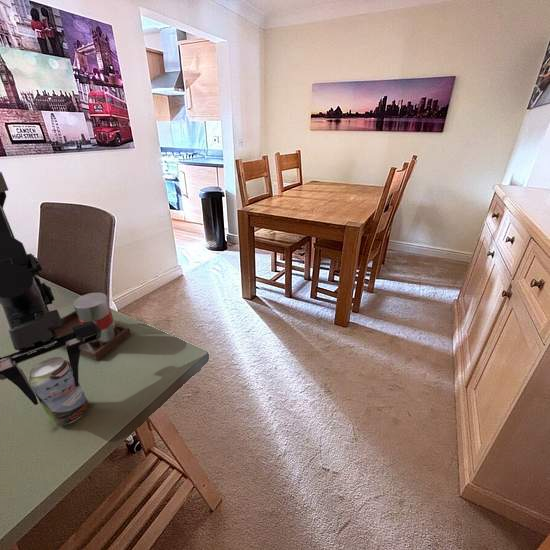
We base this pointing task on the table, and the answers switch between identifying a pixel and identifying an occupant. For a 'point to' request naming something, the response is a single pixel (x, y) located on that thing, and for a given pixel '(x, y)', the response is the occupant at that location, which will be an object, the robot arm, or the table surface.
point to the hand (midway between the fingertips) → (57, 395)
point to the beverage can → (58, 391)
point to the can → (96, 317)
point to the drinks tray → (73, 321)
